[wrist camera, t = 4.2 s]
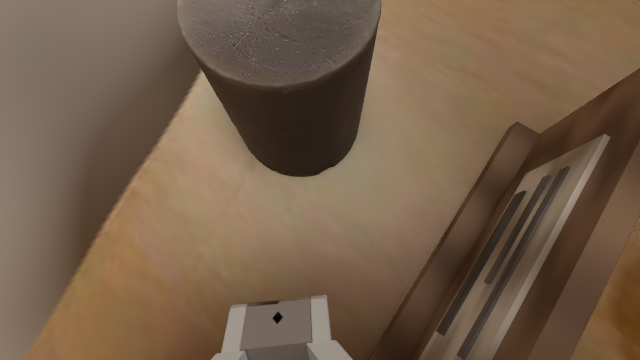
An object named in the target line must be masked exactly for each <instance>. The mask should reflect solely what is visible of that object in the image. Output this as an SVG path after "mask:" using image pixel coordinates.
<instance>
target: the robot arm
mask: <svg viewBox="0 0 640 360" xmlns="http://www.w3.org/2000/svg"><path fill="white" fill-rule="evenodd" d="M211 360H353V359H352V358H351V357H350V356H349V355H348V353H347V352H346V351H345V350H344V349H343V348H342V346H341V345H340V344H339V343H338V342H337V341H336V340H332V334H331V326H330V317H329V309H328V301H327V295H318V296H311V297H310V296H308V297H300V298H292V299H284V300H279V301H268V302H256V303H247V304H236V305H232V306H231V308H230V311H229V315H228V320H227V325H226V330H225V335H224V340H223V345H222V350H221V353H217V354H215V355H214V357H213V358H212V359H211Z"/></svg>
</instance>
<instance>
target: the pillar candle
mask: <svg viewBox="0 0 640 360" xmlns="http://www.w3.org/2000/svg"><path fill="white" fill-rule="evenodd" d="M177 11H178V12H177V13H178V14H177V15H178V23H179V27H180V29H181V32H182V34H183V37H184V39H185V41H186V43H187V45H188V46H189V48H190V50H191V52H192V53H193V55H194V57H195V58H196V60H197V62H198V64H199V66H200V67H201V69H202V71H203V72H204V74H205V76H206V77H207V79H208V81H209V83H210V85H211V86H212V88H213V90H214V91H215V93H216V95H217V97H218V98H219V100H220V101H221V103H222V104H223V106H224V108H225V110H226V112H227V114H228V116H229V117H230V119H231V121H232V122H233V123H234V125H235V126H236V128H237V130H238V132H239V134H240V135H241V137H242V139H243V140H244V142H245V144H246V145H247V147H248V149H249V150H250V151H251V153H252V154H253V155H255V157H256V158H257V159H258V160H259V161H260V162H262V164H263V165H265V166H266V167H268V168H270V169H271V170H273V171H277V172H278V173H280V174H284V175H289V176H312V175H317V174H319V173H320V172H322V171H324V170H327V169H328V168H330V167H333V166H335V165H336V164H338V163H339V162H340V161H341V160H342V159H343V158H344V157H345V156H346V155H347V153H348V152H349V151H350V149H351V147H352V145H353V143H354V141H355V139H356V135H357V131H358V126H359V121H360V117H361V112H362V107H363V101H364V96H365V91H366V86H367V81H368V76H369V71H370V65H371V60H372V55H373V50H374V45H375V39H376V34H377V28H378V23H379V19H380V15H381V0H178V4H177Z"/></svg>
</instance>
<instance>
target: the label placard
mask: <svg viewBox="0 0 640 360" xmlns="http://www.w3.org/2000/svg"><path fill="white" fill-rule="evenodd" d="M639 216H640V68H639V69H638V70H636V71H635V72H633V73H632V74H630V75H629V76H627V77H626V78H624V79H623V80H621V81H620V82H618V83H617V84H615V85H614V86H612V87H611V88H609V89H608V90H606V91H604V92H603V93H601V94H600V95H598V96H597V97H595V98H594V99H592V100H591V101H589V102H588V103H586V104H585V105H583V106H582V107H580V108H579V109H577V110H576V111H574V112H573V113H571V114H570V115H568V116H567V117H565V118H564V119H562V120H561V121H559V122H558V123H556V124H555V125H553V126H551V127H550V128H548V129H547V130H545V131H544V132H542V133H541V134H538V133H536V132H535V131H533V130H531V129H529V128H528V127H526V126H524V125H522V124H521V123H519V122H516V123H515V124H514V125H512V126H511V127H510V128H509V130H508V131H507V133H506V135H505V136H504V138H503V139H502V141H501V143H500V144H499V146H498V148H497V149H496V151H495V153H494V154H493V156H492V158H491V159H490V161H489V162H488V164H487V166H486V167H485V169H484V171H483V172H482V174H481V176H480V177H479V179H478V181H477V182H476V184H475V185H474V187H473V189H472V190H471V192H470V194H469V195H468V197H467V199H466V200H465V202H464V204H463V205H462V207H461V208H460V210H459V212H458V213H457V215H456V217H455V218H454V220H453V222H452V223H451V225H450V227H449V228H448V230H447V231H446V233H445V235H444V236H443V238H442V240H441V241H440V243H439V245H438V246H437V248H436V250H435V251H434V253H433V254H432V256H431V258H430V259H429V261H428V263H427V264H426V266H425V268H424V269H423V271H422V273H421V274H420V276H419V277H418V279H417V281H416V282H415V284H414V286H413V287H412V289H411V291H410V292H409V294H408V296H407V297H406V299H405V300H404V302H403V304H402V305H401V307H400V309H399V310H398V312H397V314H396V315H395V317H394V319H393V320H392V322H391V323H390V325H389V327H388V328H387V330H386V332H385V333H384V335H383V337H382V338H381V340H380V342H379V343H378V345H377V346H376V348H375V350H374V351H373V353H372V355H371V356H370V358H369V360H570V358H571V356H572V354H573V352H574V350H575V348H576V346H577V344H578V342H579V340H580V338H581V336H582V333H583V331H584V329H585V327H586V325H587V323H588V321H589V319H590V317H591V315H592V313H593V311H594V309H595V307H596V305H597V303H598V300H599V298H600V296H601V294H602V292H603V290H604V288H605V286H606V284H607V282H608V280H609V278H610V276H611V274H612V272H613V270H614V268H615V265H616V263H617V261H618V259H619V257H620V255H621V253H622V251H623V249H624V247H625V245H626V243H627V241H628V239H629V237H630V235H631V233H632V230H633V228H634V226H635V224H636V222H637V220H638V218H639Z"/></svg>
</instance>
